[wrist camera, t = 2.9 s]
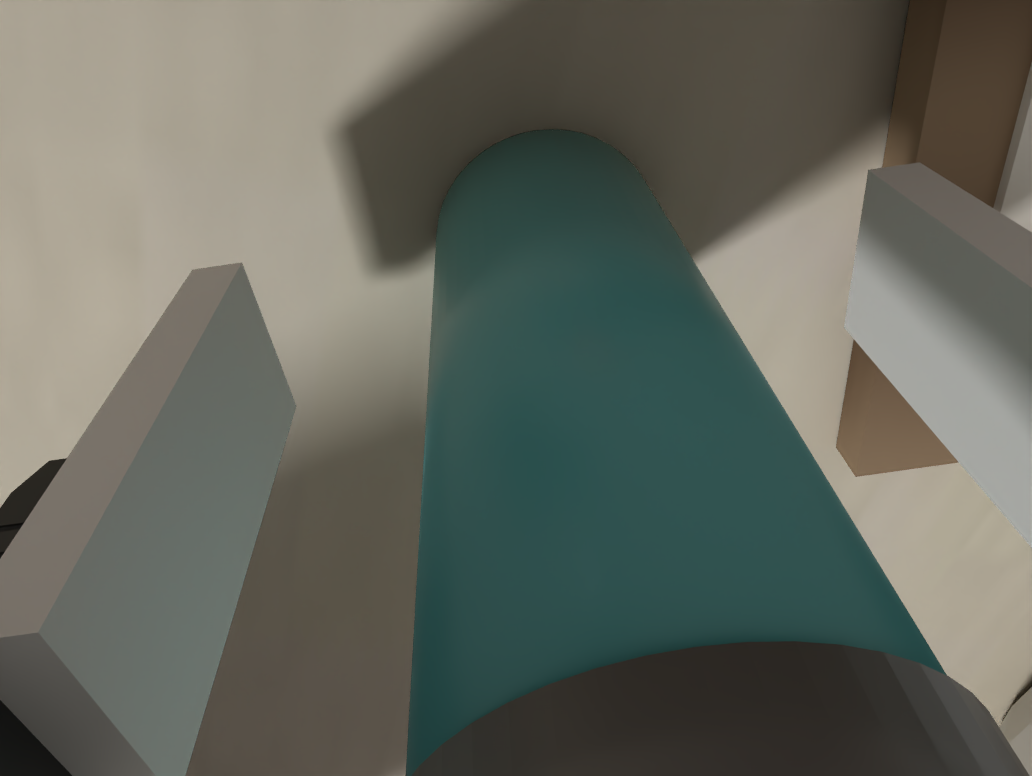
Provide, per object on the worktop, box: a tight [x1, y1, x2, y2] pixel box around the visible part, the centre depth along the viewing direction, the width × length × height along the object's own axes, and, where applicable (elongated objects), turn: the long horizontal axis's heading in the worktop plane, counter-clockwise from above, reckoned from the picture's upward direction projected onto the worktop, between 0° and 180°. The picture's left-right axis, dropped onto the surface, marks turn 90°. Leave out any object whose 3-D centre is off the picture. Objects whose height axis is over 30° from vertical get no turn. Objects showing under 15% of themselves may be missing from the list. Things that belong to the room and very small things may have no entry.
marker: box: [406, 129, 1030, 776], centre depth 8 cm, size 4×4×12 cm
